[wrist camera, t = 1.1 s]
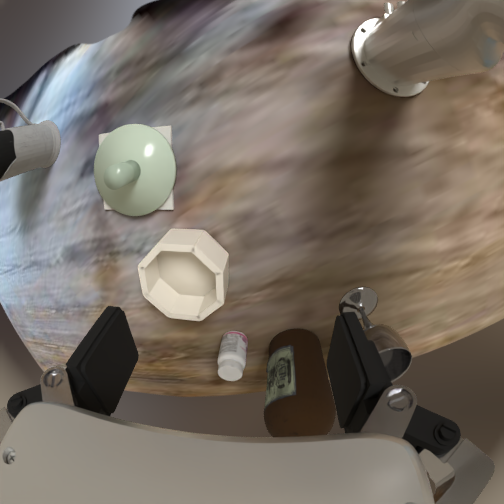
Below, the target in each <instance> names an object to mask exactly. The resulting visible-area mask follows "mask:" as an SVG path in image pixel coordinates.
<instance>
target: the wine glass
mask: <svg viewBox="0 0 504 504" xmlns="http://www.w3.org/2000/svg"><path fill="white" fill-rule="evenodd" d="M377 303H378V297H377V294H376V292H375V291H374V290H373V289H371V288H368V287H358V288H355V289H352V290H351V291H349V292H348V293H346V294H345V295H344V297H343V298H342V299H341V301H340V304H339V311H340V314H341V313H342V312H355V313H356V315H357V317H358V319H359V320H361V319H362V320H363V325H364V328H363V330H364V333H365V335H366V337H367V339H368V340H372V341H373V342H374V343H375V345H376V348H377V350H378V352H379V354H380V357H381V359H382V361H383V364H384V366H385V368H386V371H387V373H388V375H389V378H390V380H391V383H392V382H393V381H395V380H397V379H398V378H399V377H401V376H402V375H403V374H404V373H405V372H406V371H407V370H408V368H409V367H410V364H411V362H412V355H411V353H410V350H409V348H408V347H407V345H406V343H405V341H404V340H403V339H402V337H401V336H400V335H399V334H398V333H397V332H396V331H395V330H394V329H393V328H391V327H390V326H387V325H383V324H373V323H371V322H370V320H369V319H368V317H367V316H369V315H370V314H371V313H372V312H373V311H374V310H375V308H376V306H377Z"/></svg>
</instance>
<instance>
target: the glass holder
mask: <svg viewBox="0 0 504 504" xmlns="http://www.w3.org/2000/svg"><path fill="white" fill-rule="evenodd" d="M0 102H2V103H5V104H7V105H9V106H11V107H12V108H14V109H15V110H16V111H17V113H18V114H19V115H20V116H21V117H22V119H23V120H24V121H25V122H26V123H27V124H28V125H26V126H20V127H13V128H8V129H5V127H4V124H3V122H2V121H0V126H1V129H2V131H0V181H3V180H5V179H8V178H11V177H13V176H16V175H19V174H22V173H25V172H28V171H31V170H34V169H37V168H48V167H50V166H51V165H53V163H54V162H55V161H56V159H57V157H58V154H59V151H60V145H61V139H60V133H59V130H58V128H57V126H56V125H55V123H53V122H52V121H49V120H46V121H43V122H41V123H40V124H32V123H31V122H30V121H29V120H28V119H27V117H26V116H25V115H24V114H23V112H22V111H21V110H20V109H19V108H18V107H17V106H16V105H15V104H14V103H12V102H10V101H8V100H6V99H1V98H0Z"/></svg>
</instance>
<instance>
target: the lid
mask: <svg viewBox="0 0 504 504" xmlns="http://www.w3.org/2000/svg"><path fill="white" fill-rule="evenodd" d="M176 174H177V166H176V159H175V155H174V152H173V149H172V147H171V145H170V144H169V142H168V141H167V139H166V138H165V137H164V136H163V135H162V134H161V133H160V132H159V131H157V130H156V129H154V128H152V127H150V126H147V125H143V124H129V125H124V126H121V127H119V128H117V129H115V130H114V131H112V132H111V133H110V134H109V135H108V136H107V137H106V138H105V139H104V140H103V142H102V143H101V145H100V147H99V149H98V151H97V154H96V157H95V162H94V176H95V182H96V185H97V188H98V191H99V193H100V195H101V196H102V198H103V199H104V200H105V202H106V203H107V204H108V205H109V206H110V207H111V208H113V209H114V210H116V211H118V212H119V213H122V214H125V215H129V216H141V215H145V214H148V213H151V212H152V211H154V210H156V209H157V208H158V207H160V206H161V205H162V204H163V203H164V202H165V201H166V200H167V198H168V197H169V195H170V194H171V192H172V190H173V187H174V184H175V181H176Z"/></svg>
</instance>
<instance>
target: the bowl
mask: <svg viewBox="0 0 504 504" xmlns="http://www.w3.org/2000/svg"><path fill="white" fill-rule="evenodd" d="M138 271H139V277H140V282H141V287H142V292H143V296H144V297H145V298H146V299H147V300H148V301H150V302H151V303H152V304H153V305H154V306H155V307H156V308H158V309H159V310H160V311H161V312H162V313H164V314H165V315H166V316H167V317H169V318H175V319H184V320H193V321H202V320H203V319H204V318H206V317H207V316H208V315H210V314H211V313H212V312H214V311H215V310H216V309H218V308H219V307H220V306H222V305H223V304H224V301H225V297H226V293H227V289H228V285H229V254H228V253H227V252H226V251H225V250H224V249H223V248H222V247H221V245H220V244H219V243H218V242H217V241H216V240H215V239H214V238H213V237H211V236H210V235H209V234H208V233H207V232H206V231H205V230H196V229H170V230H169V231H168V232H167V233H166V234H165V236H164V237H163V238H162V239H161V240H160V241H159V242H158V243H157V244H156V245H155V246H154V248H153V249H152V250H151V251H150V252H149V253H148V254H147V255H146V257H145V258H144V259H143V260H142V261H141V262H140V264H139V265H138Z"/></svg>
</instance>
